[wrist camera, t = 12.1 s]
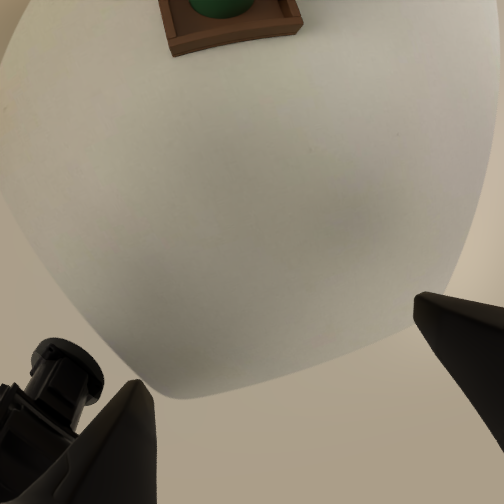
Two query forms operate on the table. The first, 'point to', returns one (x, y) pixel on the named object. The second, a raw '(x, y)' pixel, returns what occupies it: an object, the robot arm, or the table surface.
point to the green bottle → (221, 7)
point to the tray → (226, 24)
